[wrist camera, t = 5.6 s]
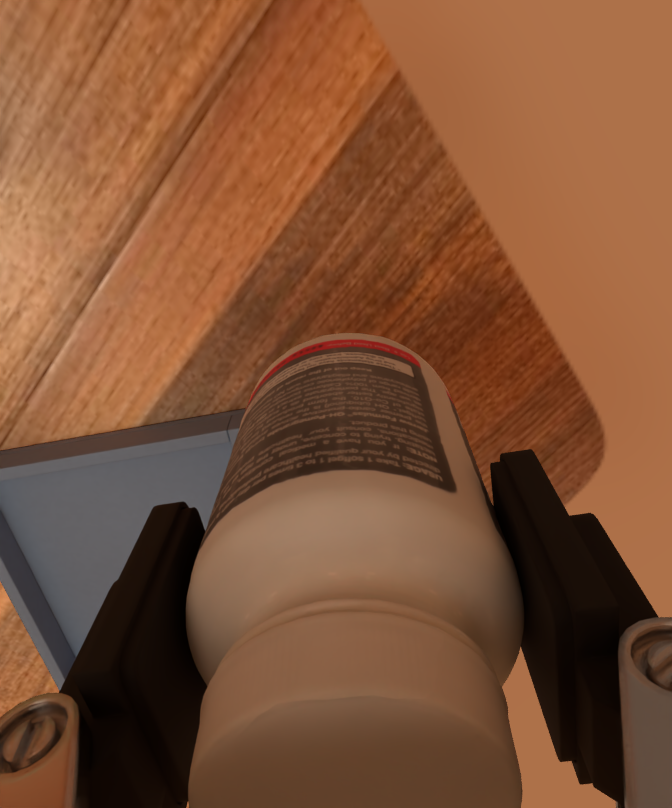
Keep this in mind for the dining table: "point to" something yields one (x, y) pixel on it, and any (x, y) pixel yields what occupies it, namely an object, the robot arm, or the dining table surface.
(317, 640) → the pill bottle
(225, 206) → the dining table surface
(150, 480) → the blue tray
